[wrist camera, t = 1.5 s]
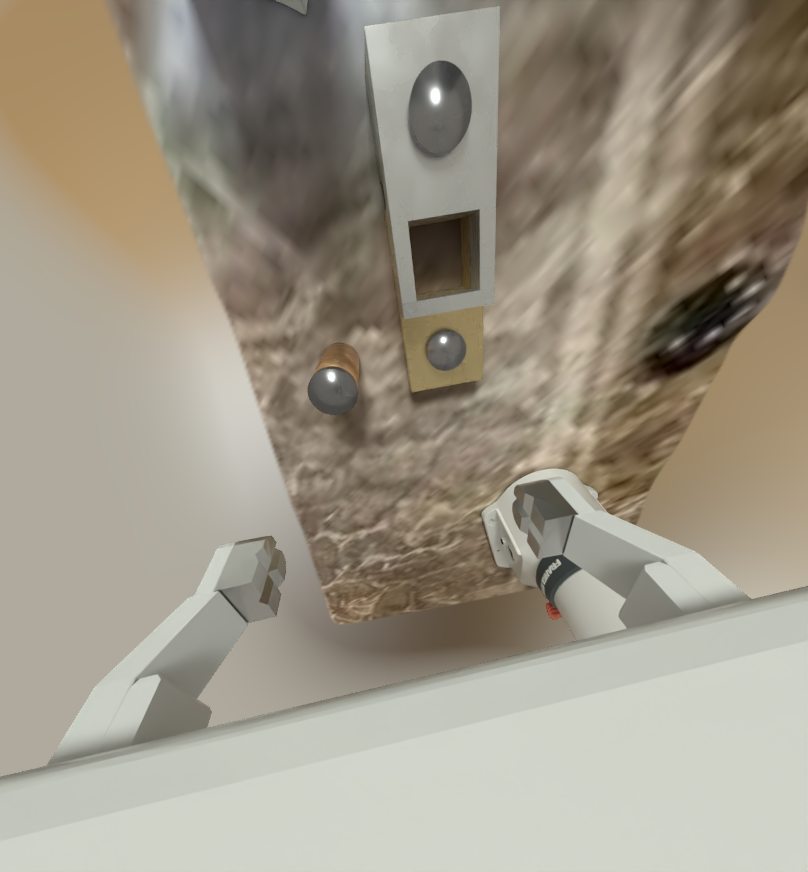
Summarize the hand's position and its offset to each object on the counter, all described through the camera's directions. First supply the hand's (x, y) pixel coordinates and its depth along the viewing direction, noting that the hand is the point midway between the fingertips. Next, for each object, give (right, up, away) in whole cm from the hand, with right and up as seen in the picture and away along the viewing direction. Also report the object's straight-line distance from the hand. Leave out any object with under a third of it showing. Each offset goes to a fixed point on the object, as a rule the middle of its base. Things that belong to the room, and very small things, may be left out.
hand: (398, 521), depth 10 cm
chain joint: (+3, +20, +18) cm, 27 cm away
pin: (-7, +11, +21) cm, 25 cm away
